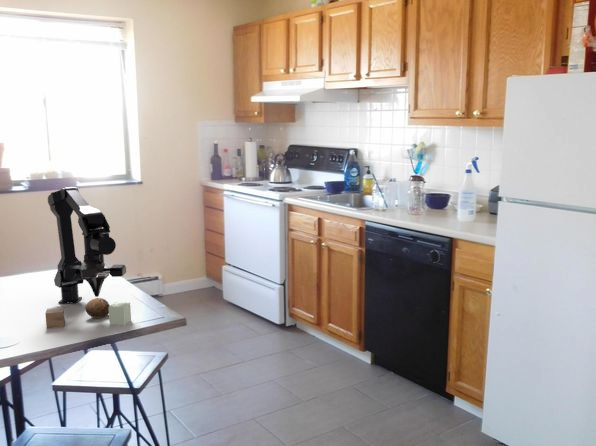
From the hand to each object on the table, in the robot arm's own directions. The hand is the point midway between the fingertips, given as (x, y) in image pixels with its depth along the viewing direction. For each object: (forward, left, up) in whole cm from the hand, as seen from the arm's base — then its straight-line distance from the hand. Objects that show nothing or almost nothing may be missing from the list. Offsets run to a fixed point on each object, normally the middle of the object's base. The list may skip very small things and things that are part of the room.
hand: (97, 296), depth 192 cm
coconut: (0, 0, -7) cm, 7 cm away
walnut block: (+8, -11, -7) cm, 15 cm away
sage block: (+7, +9, -7) cm, 13 cm away
